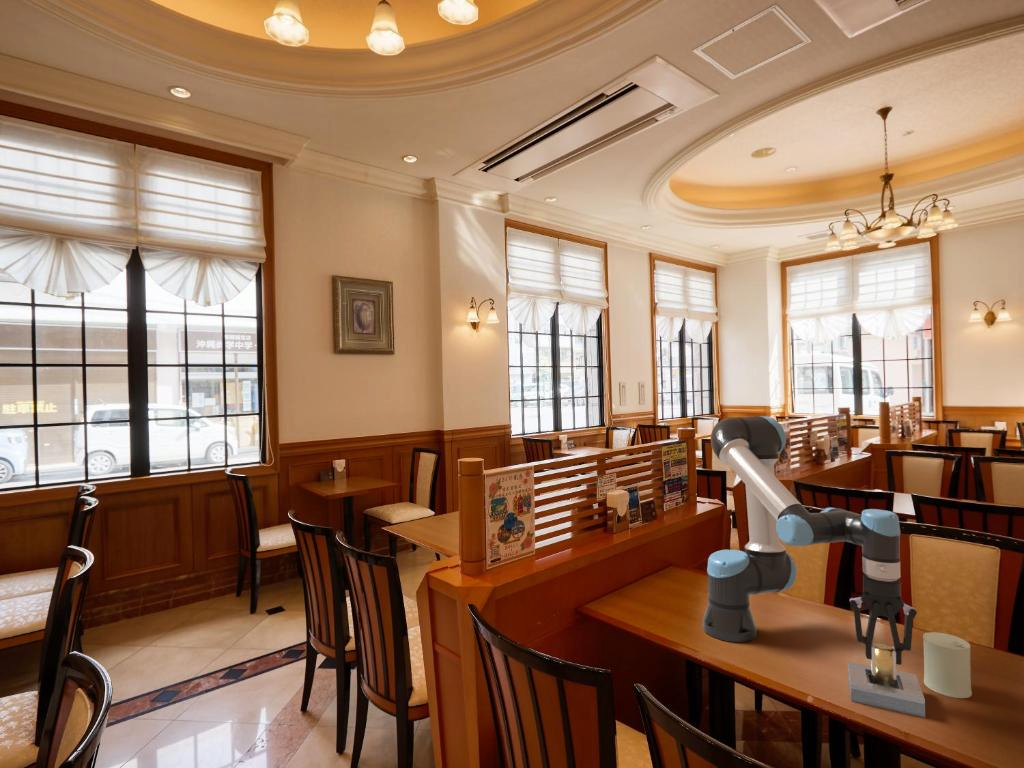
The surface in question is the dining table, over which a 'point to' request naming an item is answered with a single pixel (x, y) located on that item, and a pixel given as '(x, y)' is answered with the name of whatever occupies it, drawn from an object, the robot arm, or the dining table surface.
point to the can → (947, 665)
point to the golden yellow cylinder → (884, 665)
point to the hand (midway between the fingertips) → (883, 674)
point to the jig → (886, 690)
